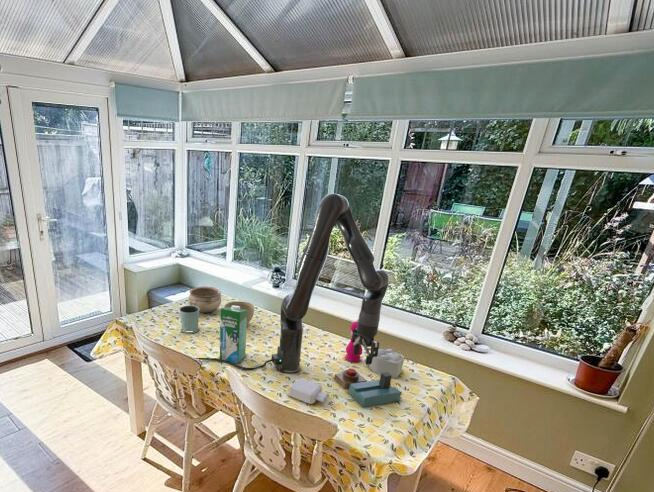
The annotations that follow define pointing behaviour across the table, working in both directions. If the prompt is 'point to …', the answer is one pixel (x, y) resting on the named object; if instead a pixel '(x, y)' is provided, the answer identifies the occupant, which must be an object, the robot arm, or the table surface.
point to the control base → (373, 393)
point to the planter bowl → (245, 306)
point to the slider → (385, 380)
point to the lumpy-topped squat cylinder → (387, 362)
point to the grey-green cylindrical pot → (189, 318)
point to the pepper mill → (350, 347)
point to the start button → (351, 372)
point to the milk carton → (233, 333)
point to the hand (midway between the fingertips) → (361, 359)
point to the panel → (349, 379)
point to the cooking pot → (205, 298)
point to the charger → (307, 391)
